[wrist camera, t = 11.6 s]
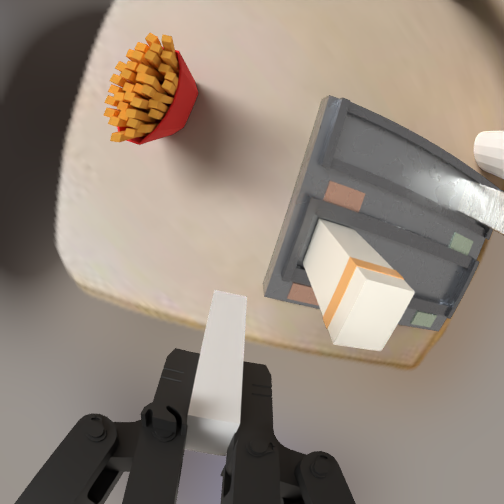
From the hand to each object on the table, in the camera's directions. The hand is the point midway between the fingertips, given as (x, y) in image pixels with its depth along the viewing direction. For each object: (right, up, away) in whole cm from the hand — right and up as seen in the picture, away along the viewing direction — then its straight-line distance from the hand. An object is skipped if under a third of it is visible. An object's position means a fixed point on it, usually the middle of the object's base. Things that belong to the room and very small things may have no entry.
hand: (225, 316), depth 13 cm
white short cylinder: (+33, +17, +14) cm, 40 cm away
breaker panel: (+19, +6, +18) cm, 27 cm away
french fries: (-7, +19, +13) cm, 24 cm away
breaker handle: (+9, +4, +16) cm, 18 cm away
